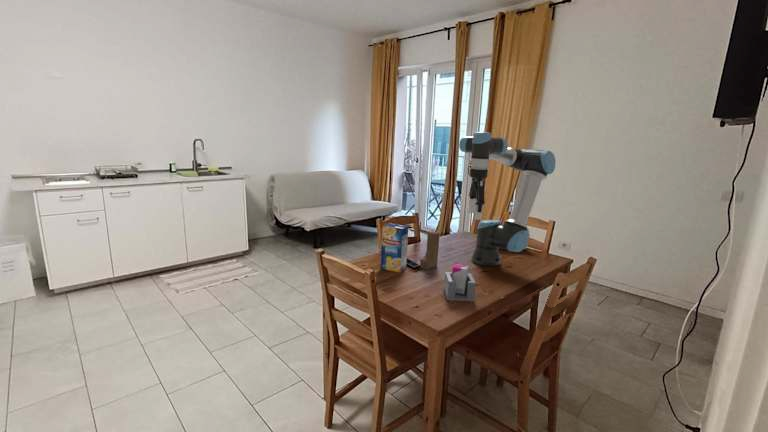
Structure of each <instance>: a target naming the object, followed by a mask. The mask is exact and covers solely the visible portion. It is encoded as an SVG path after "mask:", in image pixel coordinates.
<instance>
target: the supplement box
mask: <svg viewBox="0 0 768 432" xmlns="http://www.w3.org/2000/svg"><path fill="white" fill-rule="evenodd" d="M451 272H452V280H456V290H455V294H459V295H464V294H465V292H466V289H467V278H468V273H469V265H466V264H460V263H455V264H454V265H453V266H452V270H451Z"/></svg>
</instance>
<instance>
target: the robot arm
mask: <svg viewBox="0 0 768 432" xmlns="http://www.w3.org/2000/svg"><path fill="white" fill-rule="evenodd" d="M472 135H473V136H470V135H468V136H467V135H466V136H463V137H462V138H460V140H459V144H458V145H459V150H460V152H463V153H466V154H467V153H470V154H471V157H470V160H469V163H470V169H469V177H470V178H471V182H470V183H471V184H470V188H469V194H468V196H469V204H468V205H469V206H468V214H474V220H477V221H478V220H480V221H479V222H478V224H477V228H476V229H477V233H476V243H475V245H476V246H475V248H474V250H473V252H472V254H471V259H470V260H471V262H472V263H474V264H476V265H479V266H484V267H497V266H499V265H500V264H501V257H500V252H499V249H504V250H507V251H509V252H514V253H520V252H522V251H524V250H525V249H524V248H525V247H526V246H527V247H528V244H529V243H530V231H529V232H528V231H527V230H529V228H528V226H527V222H528V220H529V217H530V214H531V212H532V209H533V206H534V203H535V200H536V198H537V195H538V192H539V189H540V187H541V184H542V181H545V180H546V179H547V176H548V175H551V174H553V173H554V171H555V168H556V157H555V154H554V152H552V151H551V150H547V149H530V148H529V149H528V148H513V147H509V143H508V141H507V139H505V138H504V137H500V136H499V137H498V136H497V137H495V136H492V133H491V132H489V131H487V132H483V131H475V132H474V133H473V134H472ZM490 159H491V160H493V161H496V162H499V163H501V164H502V165H503V166H505V167H509V168H511V169H515V170H517V171H520V172H522V174H523V176H524V177H523V180H522V183H521V185H520V188H519V190H518V192H517V196H516V199H515V201H514V204H513V208H512V209H511V212H510V216H509V218H508V219H506V220H505V221H504V223H503V224H502V221H501V220H497V219H483V220H482V218H483V217H482V216H483V208H484V205H485V203H486V202H485V201H486V200H485V180H484V181H483V179H487V178H488V173H489V170H488V168H489V165H490ZM498 247H500V248H498ZM523 249H524V250H523Z"/></svg>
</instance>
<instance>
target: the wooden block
mask: <svg viewBox="0 0 768 432" xmlns="http://www.w3.org/2000/svg"><path fill="white" fill-rule="evenodd" d="M440 237H441V236H440V232H439V231H438V232H437V231H435V230H432V231H428V232H427V237H426V238H427V239H426V251H425V255H424V256H423V257H422V258H421V259H420V262H419V268H420V267H421V268H420V269H423V270H426V271H427V270H430V269H433V268H435V267H438V259H439V257H438V256H439V248H440V247H439V246H440Z"/></svg>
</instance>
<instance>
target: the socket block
mask: <svg viewBox="0 0 768 432" xmlns="http://www.w3.org/2000/svg"><path fill="white" fill-rule="evenodd" d="M443 284H444V285H443V290H444V295H445V296H446V297H445V298H446V300H447V301H460V302H461V301H462V302H475V299H476V298H475V297H476V287H477V282H476V281H475V279H474V276H473V275H472V273H471V272H468V278H467V289H466V292H465V294H464V295H459V294H455V290H456V280H452V271H445V272H444V283H443Z"/></svg>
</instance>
